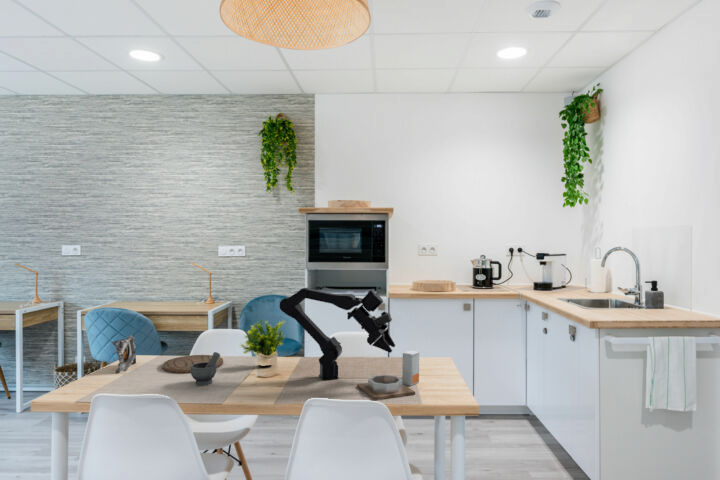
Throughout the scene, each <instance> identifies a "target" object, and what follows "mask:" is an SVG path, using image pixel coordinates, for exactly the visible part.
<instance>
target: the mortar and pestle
mask: <svg viewBox="0 0 720 480" xmlns="http://www.w3.org/2000/svg"><path fill="white" fill-rule="evenodd" d="M212 355H213V356H212V358H211V359H210V361H209V362H202V363H196V364H193V365H191V367H190V371H191V373H190V375H191V378H192V379H194V381H195V382H194V383H195V385H196V386H199V387H204V386H209V385H211V384H213V378H214V377H215V376H216V373H217V370H218V368H217V363H216V362H217V360H218V358H219V357H221V353H219V352H217V351H214V352H213V353H212Z"/></svg>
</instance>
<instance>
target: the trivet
mask: <svg viewBox="0 0 720 480" xmlns="http://www.w3.org/2000/svg"><path fill="white" fill-rule="evenodd" d="M212 356H213V354H194V355H193V354H192V355H184V356H179V357H173V358H171V359H167V360H165V361H164V362H163V363H162V371H164V372H166V373H171V374H191V371H190V367H191V365H193V364H196V363H202V362H209V361H210V359H211V358H212ZM216 363H217V369H218V368H220V367H222V366H223V365H224V359H223V357H221V356H220V357H219V358H218V360H217V362H216Z"/></svg>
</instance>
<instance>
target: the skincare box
mask: <svg viewBox="0 0 720 480" xmlns="http://www.w3.org/2000/svg"><path fill="white" fill-rule="evenodd" d="M401 372H402V377H401V379H402V380H403V385H405V386H406V385H407V386H408V387H409V386H410V387H411V386H413V385H415V384H418V383H420V351H415V350H407V351H405V352H403V353H402V371H401Z"/></svg>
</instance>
